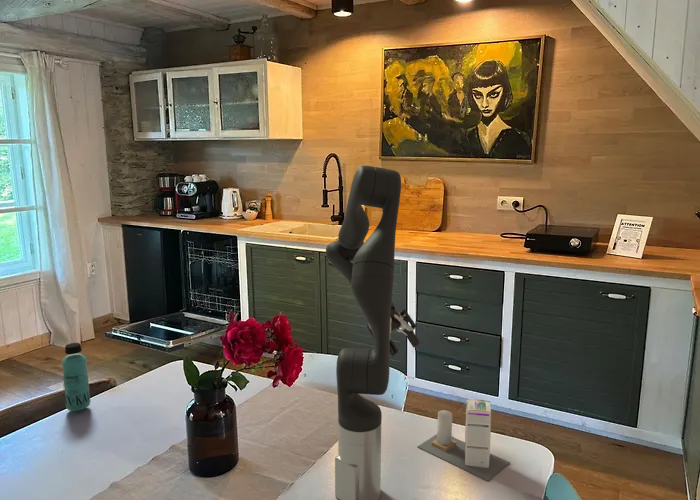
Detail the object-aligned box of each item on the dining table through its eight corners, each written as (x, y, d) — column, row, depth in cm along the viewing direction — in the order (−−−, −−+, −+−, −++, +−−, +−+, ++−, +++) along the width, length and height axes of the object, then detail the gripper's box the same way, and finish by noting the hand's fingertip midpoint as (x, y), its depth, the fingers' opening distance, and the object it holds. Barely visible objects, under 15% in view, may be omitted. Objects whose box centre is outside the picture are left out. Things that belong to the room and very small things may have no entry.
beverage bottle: (66, 407, 158) (59, 342, 154) (92, 403, 161) (85, 338, 157) (65, 418, 152) (58, 350, 148) (92, 413, 155) (85, 346, 151)
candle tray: (487, 481, 124) (489, 445, 122) (417, 447, 138) (418, 414, 136) (509, 463, 131) (512, 428, 129) (440, 432, 145) (441, 401, 143)
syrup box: (489, 468, 128) (492, 411, 125) (463, 465, 129) (466, 409, 127) (488, 455, 134) (491, 400, 131) (463, 452, 135) (466, 398, 132)
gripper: (363, 296, 141) (397, 350, 135) (399, 286, 151) (431, 336, 145) (349, 311, 146) (380, 364, 140) (384, 300, 155) (415, 349, 150)
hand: (406, 350), depth 142 cm, fingers open, 8 cm apart
